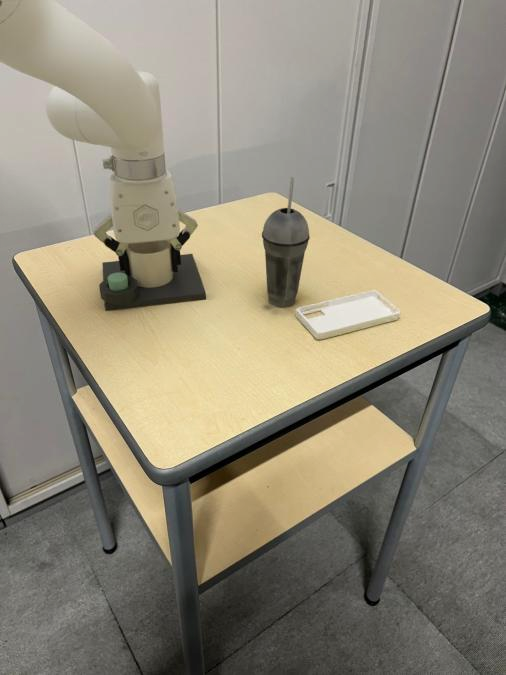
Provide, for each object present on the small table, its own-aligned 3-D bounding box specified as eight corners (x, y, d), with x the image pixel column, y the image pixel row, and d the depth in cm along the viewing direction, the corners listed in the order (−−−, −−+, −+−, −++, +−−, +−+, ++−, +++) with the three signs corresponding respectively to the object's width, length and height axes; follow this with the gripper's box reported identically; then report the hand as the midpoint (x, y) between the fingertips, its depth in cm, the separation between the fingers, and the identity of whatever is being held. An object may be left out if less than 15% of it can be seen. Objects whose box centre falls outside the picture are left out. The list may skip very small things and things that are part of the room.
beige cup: (131, 290, 84) (127, 256, 80) (128, 268, 90) (124, 237, 86) (175, 285, 85) (173, 252, 82) (170, 264, 91) (167, 233, 88)
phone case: (317, 341, 76) (400, 319, 81) (318, 333, 75) (402, 311, 80) (294, 315, 81) (373, 296, 86) (294, 307, 80) (375, 289, 85)
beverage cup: (251, 304, 83) (254, 183, 72) (271, 284, 89) (277, 168, 77) (292, 317, 81) (302, 193, 69) (310, 295, 86) (322, 176, 74)
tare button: (109, 292, 81) (107, 282, 79) (108, 283, 83) (107, 273, 82) (129, 290, 81) (127, 280, 80) (127, 281, 83) (126, 271, 82)
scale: (102, 312, 81) (99, 296, 79) (100, 268, 92) (98, 253, 90) (206, 300, 84) (206, 284, 82) (192, 259, 95) (191, 244, 94)
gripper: (78, 178, 72) (98, 288, 82) (202, 170, 75) (206, 276, 86) (78, 161, 77) (97, 265, 88) (194, 154, 81) (198, 255, 92)
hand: (151, 270), depth 87 cm, fingers closed on beige cup, 7 cm apart
